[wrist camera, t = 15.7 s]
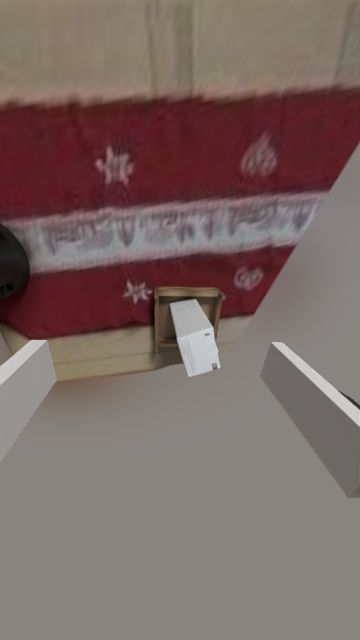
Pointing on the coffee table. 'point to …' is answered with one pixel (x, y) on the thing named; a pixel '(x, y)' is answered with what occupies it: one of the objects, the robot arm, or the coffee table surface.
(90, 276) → the coffee table surface
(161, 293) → the box
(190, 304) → the skincare box
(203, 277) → the coffee table surface
